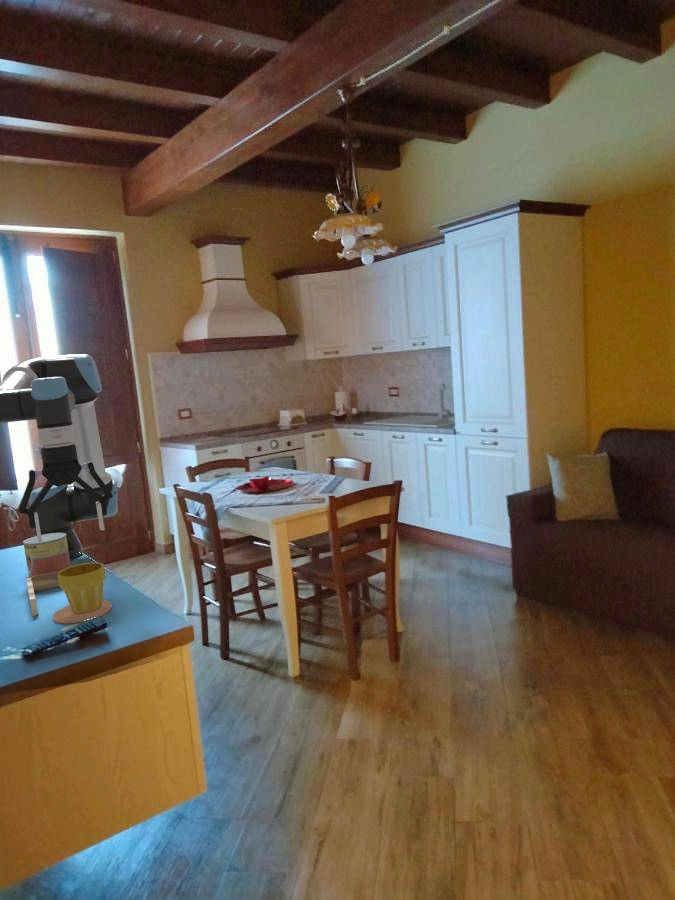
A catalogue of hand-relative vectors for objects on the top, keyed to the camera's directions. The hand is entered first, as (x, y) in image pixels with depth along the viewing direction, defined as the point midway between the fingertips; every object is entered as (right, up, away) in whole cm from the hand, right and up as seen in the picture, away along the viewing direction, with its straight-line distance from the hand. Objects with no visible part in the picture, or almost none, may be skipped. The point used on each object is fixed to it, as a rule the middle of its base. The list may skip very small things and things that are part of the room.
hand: (71, 535), depth 153 cm
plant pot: (+3, -18, +2) cm, 18 cm away
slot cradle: (-9, -18, +17) cm, 26 cm away
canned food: (-19, -17, +34) cm, 42 cm away
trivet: (+2, -19, +2) cm, 19 cm away
